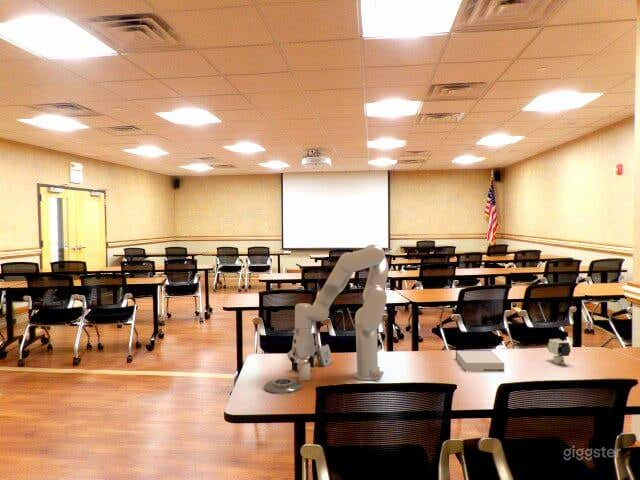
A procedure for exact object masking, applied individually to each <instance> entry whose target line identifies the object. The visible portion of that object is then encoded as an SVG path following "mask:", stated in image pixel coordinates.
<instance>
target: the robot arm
mask: <svg viewBox="0 0 640 480" xmlns="http://www.w3.org/2000/svg"><path fill="white" fill-rule="evenodd" d="M368 268H369V272H368V276H367V279H366V282H365V283H366V284H365V287H364V289H363V292H362V298H363V304H362V307H359V309H358V310H356V311H355V316H354V322H355V323H354V324H355V326H354V327H355V338H356V339H355V340H356V341H355V342H356V343H355V344H356V345H355V347H356V348H355V349H356V371H355V372H354V373H353V378H354V379H356V380H360V381H377V380H379V379H380V378H382V377H383V375H384V374H385V373H384V371H382V370H381V368H380V366H379V362H378V360H379V359H378V358H379V357H378V331H377V330H378V328H379V327H380V325H381V322H382V319H383V316H384V312H385V309H386V305H387V301H388V295H387V292H386V290H385V287H386V285H387V281H388V276H389V263H388V260H387V257H386V252H385V250H384V249H383V248H382V247H381V246H379V245H377V244H369V245H366V246H365V247H364V248H363V249H359V250H356V251H352V252H347V251H346V252H344V253H343V254H341V256H339V259H338V261H337V262H336V264H335V266H334V268H333V269H332V271H331V272H330V275H329V276H328V277H327V280H326V281H325V283H324V285H323V286H322V288H321V290H320V291H319V292H318V295H317V297H316V298H315V300H314V302H313V304H311V303H307V302H306V303H303V302H302V303H301V302H299V303H296V305H295V306H294V330H292V331H293V333H294V334H293V339H292V346H291V349H290V351H288V352H287V354H286V355H287V357H288V360H289V361H290V362H291V370H292V371H293V372H299V367H298V363H297V360H298V358H304V357H309V358H308V363H310V367H312V369H313V368H314V367H315V365H314V358H315V359H316V354H317V351H318V349H319V347H318V346H315V338H314V333H312V331H313V330H312V328H313V327H312V326H313V325H312V324H313V323H312V321H317V322H322V321H323V322H324V321H325V320H327V319H328V318H329V315H330V307H331V306H332V304H333V302H334V300H335V299H336V298H337V296H338V295H339V294H340V293H341V292H342V291H344V289H345V287H346V286H347V284H348V282H349V281H350V280H351V279H350V278H351V277H352V276H353V274H354V273H355V272H358V271H361V270H365V269H368Z"/></svg>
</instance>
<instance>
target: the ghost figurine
mask: <svg viewBox="0 0 640 480" xmlns="http://www.w3.org/2000/svg"><path fill="white" fill-rule="evenodd" d="M308 358H309V357H304V358H298V360H297V363H298V368H299V363H302V362H308ZM315 364H316V357H315V358H314V366H315ZM312 369H313V368H312V367H310V370H312Z"/></svg>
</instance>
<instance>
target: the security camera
mask: <svg viewBox="0 0 640 480" xmlns="http://www.w3.org/2000/svg"><path fill="white" fill-rule="evenodd" d="M547 350H548V352H549V353H551V354H554V355H553V363H554V364H557V365H565V357H570V353H571V347H570V343H569V342H567V341H565V340H562V339H560V338H559V337H558V338H549V339H548V342H547Z"/></svg>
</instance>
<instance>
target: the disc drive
mask: <svg viewBox="0 0 640 480" xmlns="http://www.w3.org/2000/svg"><path fill="white" fill-rule="evenodd" d="M455 359H456V360H457V362H458V361H459V362H458V363H459V365H460V364H461V365H462V366H461V365H460V366H461V367H462V369H463V368H464V369H465V370H464V369H463V370H464V371H465V372H466V371H471V372H470V373H505V362H504V361H503V360H502V359H501V358H499V357H498V355H497V354H496V353H494V352H493V351H492V350H491V349H455Z"/></svg>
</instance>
